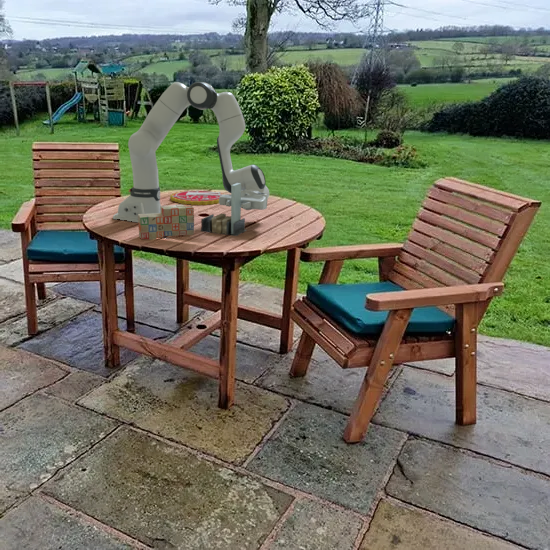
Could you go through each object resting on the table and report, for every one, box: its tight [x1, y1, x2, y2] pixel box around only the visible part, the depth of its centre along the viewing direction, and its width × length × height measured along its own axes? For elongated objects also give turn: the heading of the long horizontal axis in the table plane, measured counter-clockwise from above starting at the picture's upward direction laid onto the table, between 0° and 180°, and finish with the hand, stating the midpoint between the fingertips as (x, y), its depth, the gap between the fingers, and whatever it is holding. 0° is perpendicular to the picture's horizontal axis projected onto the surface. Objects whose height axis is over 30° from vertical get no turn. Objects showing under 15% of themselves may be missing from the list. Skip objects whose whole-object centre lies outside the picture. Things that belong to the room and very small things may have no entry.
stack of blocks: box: [137, 204, 195, 241], centre depth 213 cm, size 21×6×12 cm, turn 111°
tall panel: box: [230, 183, 242, 234], centre depth 217 cm, size 2×6×20 cm, turn 159°
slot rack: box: [200, 213, 248, 237], centre depth 221 cm, size 17×11×6 cm, turn 69°
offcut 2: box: [215, 215, 231, 235], centre depth 221 cm, size 2×10×5 cm, turn 159°
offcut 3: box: [222, 215, 231, 234], centre depth 220 cm, size 2×8×6 cm, turn 159°
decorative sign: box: [169, 189, 226, 206], centre depth 284 cm, size 30×3×30 cm
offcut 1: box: [212, 213, 227, 234], centre depth 222 cm, size 2×9×6 cm, turn 159°
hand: (235, 205), depth 216 cm, fingers open, 5 cm apart
